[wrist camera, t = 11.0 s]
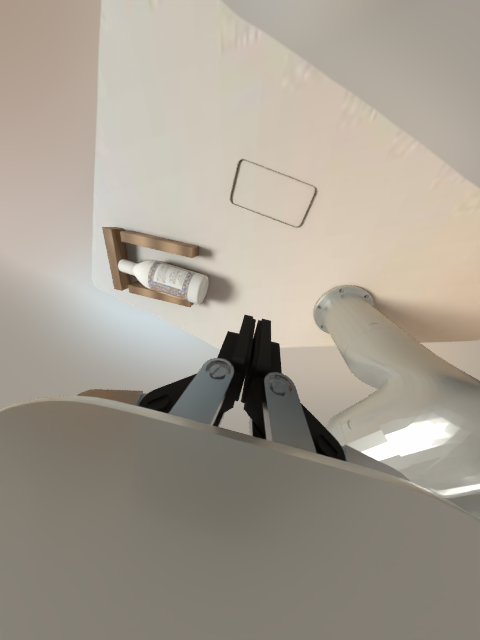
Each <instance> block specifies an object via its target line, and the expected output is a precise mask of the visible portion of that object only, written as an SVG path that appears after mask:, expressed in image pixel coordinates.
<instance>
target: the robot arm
mask: <svg viewBox="0 0 480 640" xmlns="http://www.w3.org/2000/svg"><path fill="white" fill-rule="evenodd" d="M339 290H340V291H339ZM314 320H315V322H316V324H317V326H318V327H319V328H320V329H321V330H323V331H324V332H326V333H329V334H330V335H331V337H332V339H333V341H334V342H335V344H336V346H337V348H338V349H339V351H340V353H341V355H342V357H343V358H344V360H345V362H346V364H347V366H348V367H349V369H350V371H351V372H352V373H353V374H354V375H355V376H356V377H357V378H358V379H359V380H361V381H362V382H364V383H366V384H368V385H370V386H372V387H375V388H377V389H378V390H377V391H375V392H374V393H373V394H371V395H369V396H368V397H367V398H365V399H363V400H361V401H360V402H358V403H356V404H354V405H353V406H351V407H349V408H347V409H346V410H344V411H342V412H340V413H338V414H337V415H335V416H334V417H333V418H331V419H330V421H329V422H328V423H327V425H326V428H325V427H324V426H323V425H322V424H321V423H320V422H319V421H318V420H317V419H316V418H315V417H314V416H313V415H312V414H311V413H310V412H309V411H308V410H307V409H306V408H305V407H304V406H303V405H302V404H301V403H300V400H299V397H298V394H297V390H296V387H295V385H294V383H293V382H292V380H291V379H290V378H288V377H287V376H286V375H284V374H282V373H281V360H280V346H279V343H275V342H271V321H269V320H265V319H262V321H260V320H258V323H257V327H256V330H255V334H254V328H255V322H256V320H255V319H253V317H252V316H248V315H245V316H244V319H243V323H242V326H241V330H240V333H239V334H238V333H233V332H229V331H228V333H227V335H226V338H225V340H224V343H223V345H222V348H221V350H220V353H219V355H218V358H214V359H210V360H208V361H207V362H206V363H205V364H204V365H203V366H202V368H201V369H200V371H199V372H198V373H197V374H195V375H192V376H189V377H187V378H184V379H182V380H179V381H176V382H174V383H171V384H169V385H166V386H163V387H161V388H158V389H155V390H153V391H152V392H149V393H148V394H143V391H128V390H102V389H94V390H88V391H85V392H82V393H80V394H78V395H77V396H55V397H45V398H38V399H33V400H28V401H23V402H19V403H16V404H13V405H10V406H7V407H4V408H2V409H0V640H480V381H479V380H477V379H475V378H474V377H472V376H470V375H468V374H466V373H465V372H463V371H461V370H460V369H458V368H456V367H454V366H453V365H451V364H450V363H448V362H446V361H445V360H443V359H442V358H440V357H438V356H437V355H435V354H434V353H433V352H431V351H430V350H429V349H427V348H426V347H424V346H423V345H422V344H420V343H419V342H418V341H416V340H415V339H414V338H412V337H411V336H410V335H409V334H407V333H406V332H405V331H403V330H402V329H401V328H400V327H398V326H397V325H396V324H394V323H393V322H392V321H391V320H389V319H388V318H387V317H385V316H384V315H383V314H382V313H380V312H379V311H378V310H377V309H375V308H374V301H373V298H372V297H371V295H370V294H369V293H368V292H367V291H365V290H364V289H362V288H360V287H357V286H352V285H345V286H340V287H336V288H334V289H331V290H329V291H328V292H326V293H325V294H324V295H323V296H322V297H321V298H320V299H319V300H318V301H317V303H316V305H315V308H314ZM253 335H254V338H253ZM244 379H245V381H244ZM243 382H244V388H243V393H242V399H241V402H242V403H245V404H244V410H245V411H246V412H247V414H248V415H249V416H250V421H249V425H250V426H249V428H250V435H246V434H243V433H239V432H235V431H231V430H228V429H224V428H220V427H219V426H220V424H221V422H222V419H223V417H224V413H225V412H226V411H228V410H229V409H231V408H233V405H234V402H235V401H238V400H239V396H240V392H241V389H242V386H243Z"/></svg>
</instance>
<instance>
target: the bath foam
mask: <svg viewBox="0 0 480 640" xmlns="http://www.w3.org/2000/svg"><path fill="white" fill-rule="evenodd" d="M118 268H119V270H120V271H121V272H125V273H128V274H131V275H134V276H135V277H136V278H137V279H138V280H139V281H140V283H141V284H143V285H144V286H145V287H147V288H149V289H151V290H153V291H157V292H160V293H163V294H166V295H169V296H173V297H176V298H179V299H182V300H186V301H189V302H192V303H196V304H201V303H202V302H203V300H204V298H205V296H206V293H207V289H208V283H209V281H208V277H207V276H206V275H203V274H200V273H196V272H193V271H190V270H187V269H183V268H180V267H177V266H174V265H170V264H167V263H164V262H161V261H156V260H148V261H144V262H141V263H138V264H137V263H134V262H131V261H128V260H125V259H122V260H120V261H119V264H118Z"/></svg>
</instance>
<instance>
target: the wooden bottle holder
mask: <svg viewBox="0 0 480 640" xmlns="http://www.w3.org/2000/svg"><path fill="white" fill-rule="evenodd" d="M102 229H103V234H104V239H105V244H106V249H107V254H108V259H109V264H110V269H111V274H112V279H113V284H114V289H117V290H121V291H122V290H124V289H127V288H129V292H130V293H134V294H138V295H142V296H146V297H150V298H154V299H158V300H163V301H167V302H171V303H175V304H179V305H183V306H187V307H191V306H192V305H193V304H194V303H192V302H189V301H186V300H182V299H179V298H176V297H173V296H169V295H166V294H163V293H160V292H157V291H153V290H151V289H149V288H147V287H145V286H144V285H143V284H141V283H140V281H136V282H134V283H132V284H131V279H130V274H128V273H125V272H121V271H120V270H119V268H118V264H119V261H120V260H122V259H125V260H128V258H127V251H126V244H125V242H126V243H130V244H135V245H139V246H143V247H147V248H152V249H156V250H160V251H165V252H169V253H173V254H178V255H182V256H186V257H190V258H193V257H195V256H198V248H199V246H195V245H191V244H187V243H182V242H178V241H174V240H169V239H165V238H161V237H156V236H152V235H148V234H143V233H139V232H134V231H124V230H123V229H121V228H117V227H102Z"/></svg>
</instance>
